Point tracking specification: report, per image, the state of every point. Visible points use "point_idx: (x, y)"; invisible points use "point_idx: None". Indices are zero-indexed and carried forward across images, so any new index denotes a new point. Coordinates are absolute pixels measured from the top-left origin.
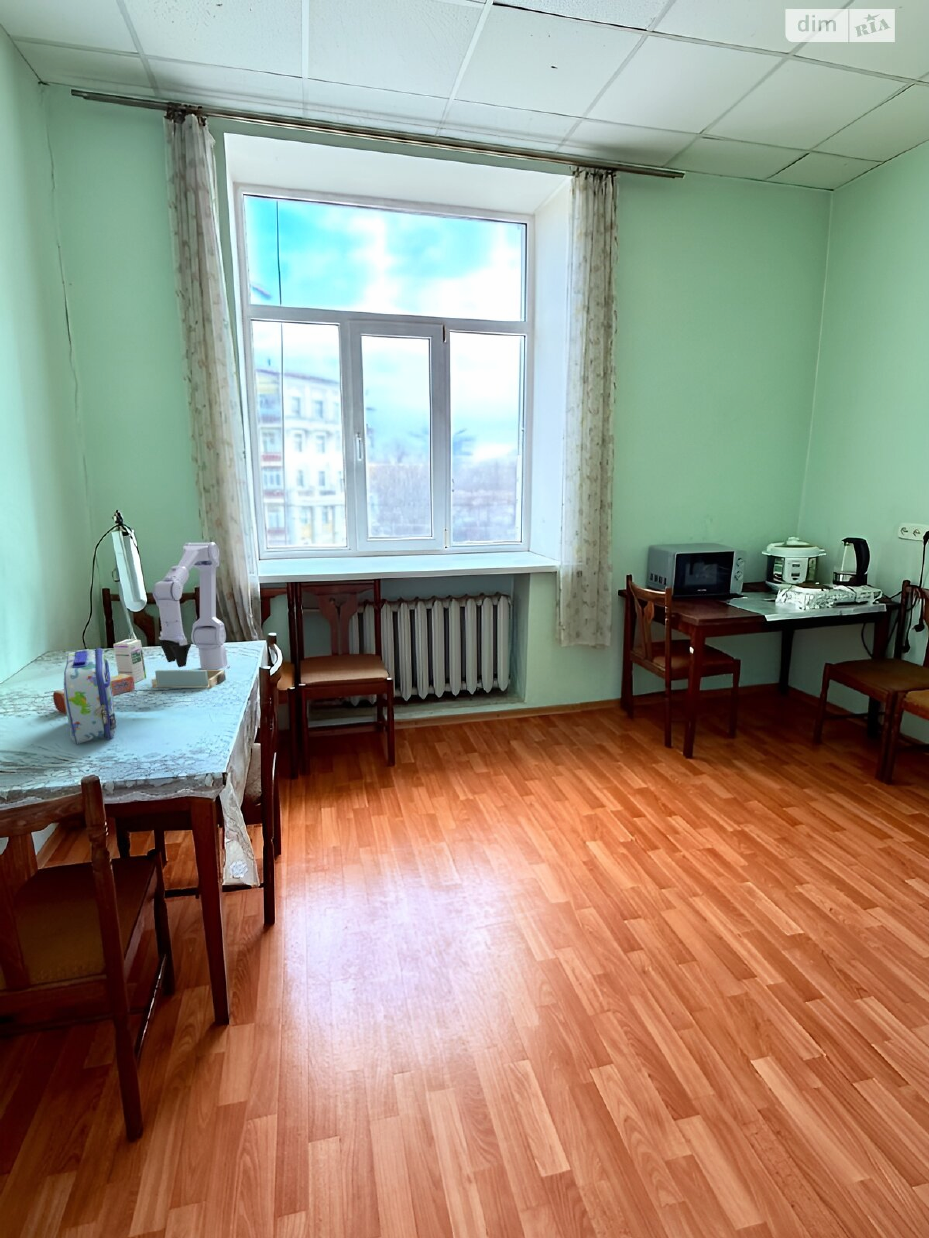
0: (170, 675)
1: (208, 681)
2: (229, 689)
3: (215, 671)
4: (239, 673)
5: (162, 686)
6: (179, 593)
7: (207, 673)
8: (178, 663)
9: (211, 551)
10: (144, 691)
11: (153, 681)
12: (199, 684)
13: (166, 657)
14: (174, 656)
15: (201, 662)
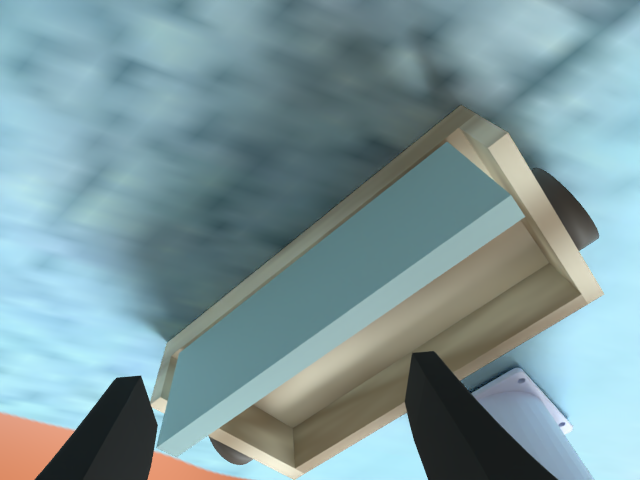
0: (371, 262)
1: (291, 378)
2: None
3: (321, 448)
4: (362, 471)
5: None
6: None
7: (356, 413)
8: (84, 420)
9: None
10: (529, 61)
11: (487, 137)
12: (209, 338)
13: (447, 391)
14: (422, 445)
15: (531, 441)
